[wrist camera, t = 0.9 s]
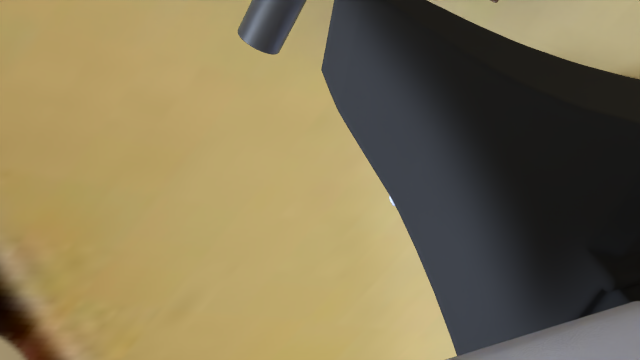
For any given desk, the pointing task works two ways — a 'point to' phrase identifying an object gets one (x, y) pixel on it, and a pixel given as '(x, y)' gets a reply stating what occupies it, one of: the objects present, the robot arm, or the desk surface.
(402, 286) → the desk surface
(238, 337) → the desk surface
